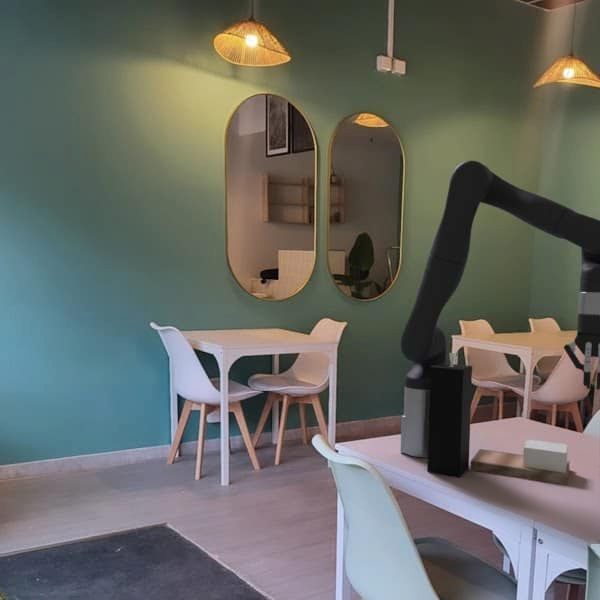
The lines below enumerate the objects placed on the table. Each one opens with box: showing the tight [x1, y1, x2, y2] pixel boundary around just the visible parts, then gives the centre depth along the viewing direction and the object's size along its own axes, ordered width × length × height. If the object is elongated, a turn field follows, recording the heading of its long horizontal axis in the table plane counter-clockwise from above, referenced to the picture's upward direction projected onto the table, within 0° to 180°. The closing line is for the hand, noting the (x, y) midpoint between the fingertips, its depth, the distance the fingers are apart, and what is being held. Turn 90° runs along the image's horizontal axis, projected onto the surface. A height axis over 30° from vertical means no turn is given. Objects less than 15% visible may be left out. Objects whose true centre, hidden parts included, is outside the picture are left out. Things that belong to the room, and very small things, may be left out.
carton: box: [522, 439, 569, 473], centre depth 139 cm, size 9×8×4 cm
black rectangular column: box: [426, 352, 473, 478], centre depth 140 cm, size 8×8×28 cm
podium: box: [470, 448, 570, 486], centre depth 142 cm, size 21×12×2 cm, turn 63°
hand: (593, 388), depth 135 cm, fingers closed
